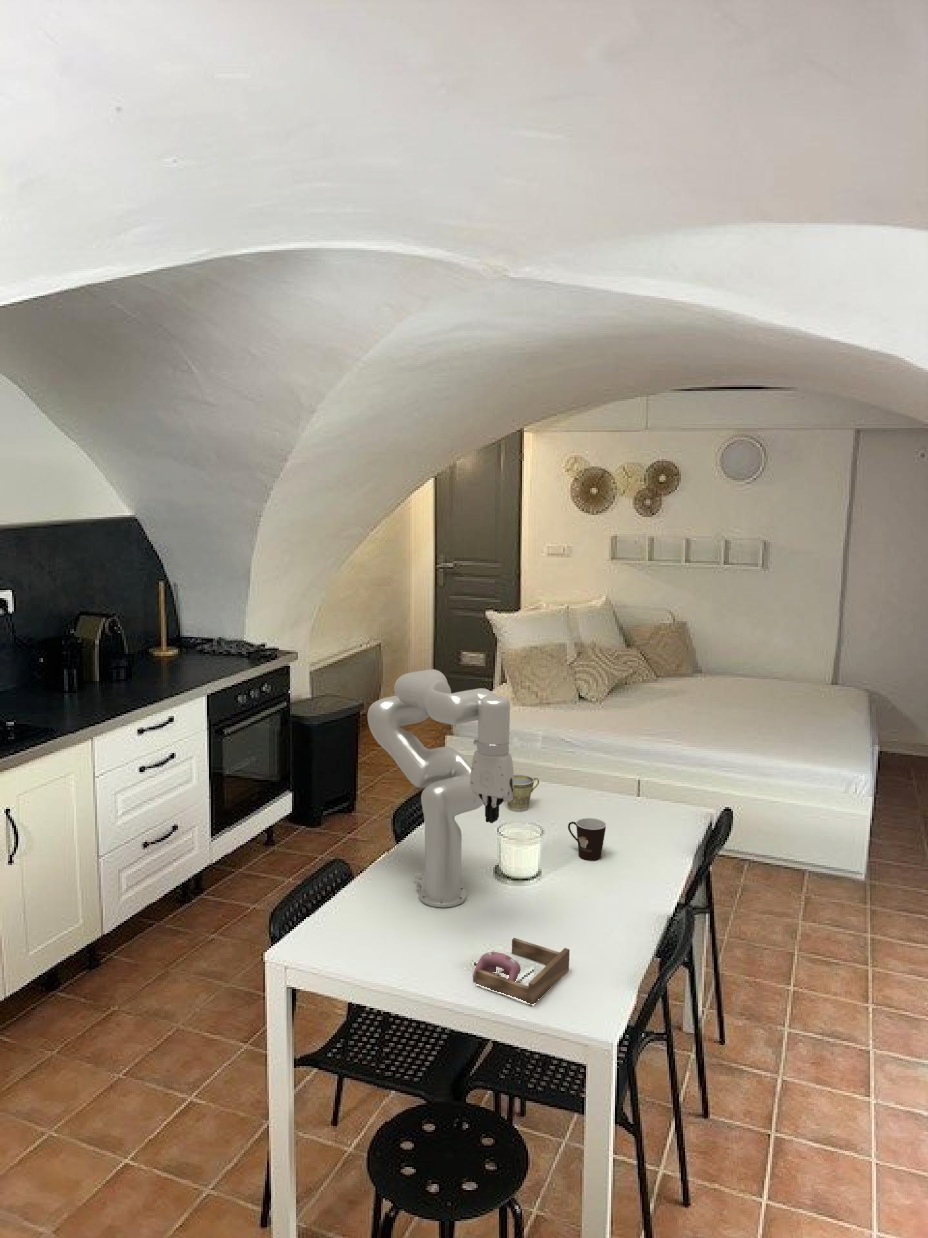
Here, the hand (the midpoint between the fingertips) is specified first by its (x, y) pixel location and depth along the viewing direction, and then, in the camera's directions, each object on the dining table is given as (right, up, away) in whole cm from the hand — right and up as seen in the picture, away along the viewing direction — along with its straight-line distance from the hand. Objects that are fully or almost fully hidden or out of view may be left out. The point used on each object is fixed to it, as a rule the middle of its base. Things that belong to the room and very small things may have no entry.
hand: (491, 820), depth 221 cm
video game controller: (0, -31, -20) cm, 37 cm away
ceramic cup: (+13, -14, +83) cm, 85 cm away
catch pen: (+6, -31, -18) cm, 36 cm away
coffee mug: (+29, -20, +47) cm, 59 cm away
